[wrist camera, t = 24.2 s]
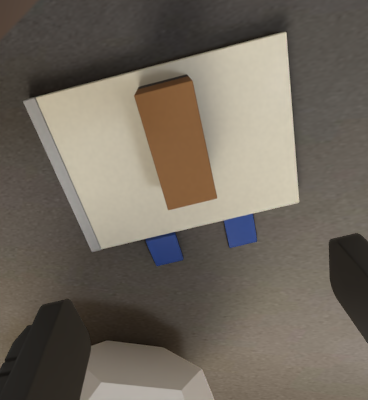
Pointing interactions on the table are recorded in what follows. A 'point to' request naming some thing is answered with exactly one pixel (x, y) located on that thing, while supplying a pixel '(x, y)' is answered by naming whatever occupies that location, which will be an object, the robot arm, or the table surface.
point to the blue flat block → (240, 230)
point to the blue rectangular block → (164, 249)
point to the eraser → (176, 141)
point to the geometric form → (141, 374)
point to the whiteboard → (141, 155)
